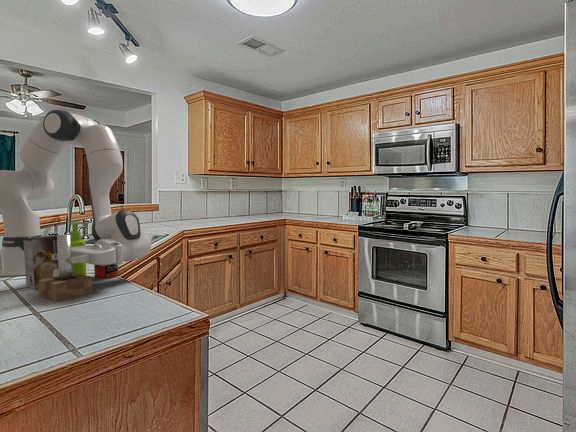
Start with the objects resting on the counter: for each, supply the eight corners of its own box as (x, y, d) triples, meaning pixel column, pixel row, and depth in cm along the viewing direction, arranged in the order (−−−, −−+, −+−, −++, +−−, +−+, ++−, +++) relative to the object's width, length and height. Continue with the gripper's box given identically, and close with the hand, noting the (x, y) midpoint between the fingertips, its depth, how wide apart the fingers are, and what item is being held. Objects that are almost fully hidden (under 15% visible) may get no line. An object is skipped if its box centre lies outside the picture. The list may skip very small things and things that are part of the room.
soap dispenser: (91, 276, 127) (89, 222, 125) (70, 279, 122) (68, 223, 120) (86, 273, 131) (84, 221, 130) (65, 277, 126) (63, 222, 124)
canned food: (108, 279, 122) (107, 248, 121) (89, 278, 123) (88, 248, 123) (123, 274, 129) (122, 245, 128) (104, 273, 131) (103, 245, 130)
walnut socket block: (39, 296, 102) (38, 279, 101) (73, 288, 110) (73, 273, 110) (57, 301, 97) (56, 284, 96) (92, 292, 105) (91, 276, 105)
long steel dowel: (57, 295, 103) (54, 235, 102) (69, 292, 106) (66, 234, 105) (63, 297, 101) (61, 236, 100) (75, 294, 104) (73, 234, 103)
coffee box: (56, 280, 120) (53, 235, 119) (65, 283, 117) (63, 236, 116) (25, 286, 113) (22, 237, 112) (34, 289, 109) (31, 239, 108)
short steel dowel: (50, 287, 112) (49, 268, 112) (61, 284, 115) (60, 266, 115) (55, 288, 110) (55, 270, 110) (67, 286, 113) (66, 268, 113)
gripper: (87, 240, 119) (42, 245, 107) (125, 244, 109) (80, 251, 97) (87, 258, 119) (43, 266, 107) (125, 264, 109) (81, 273, 97)
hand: (61, 259), depth 102 cm, fingers open, 8 cm apart
